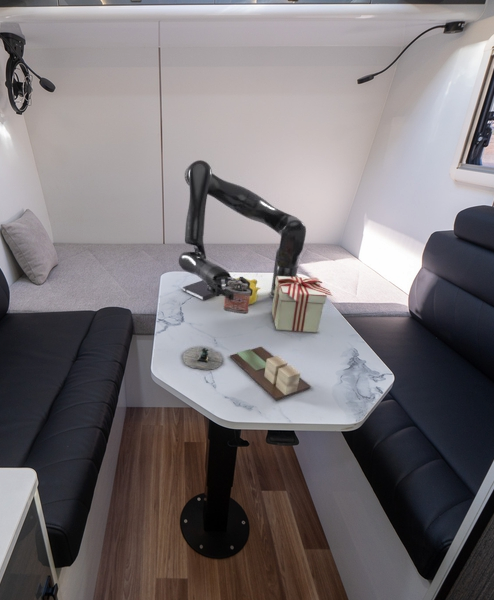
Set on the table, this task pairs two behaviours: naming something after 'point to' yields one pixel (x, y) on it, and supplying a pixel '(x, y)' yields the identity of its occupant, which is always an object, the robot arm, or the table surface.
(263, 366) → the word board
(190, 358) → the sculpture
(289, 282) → the gift box
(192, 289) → the notebook
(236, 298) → the lighter
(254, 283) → the teapot
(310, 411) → the table surface
